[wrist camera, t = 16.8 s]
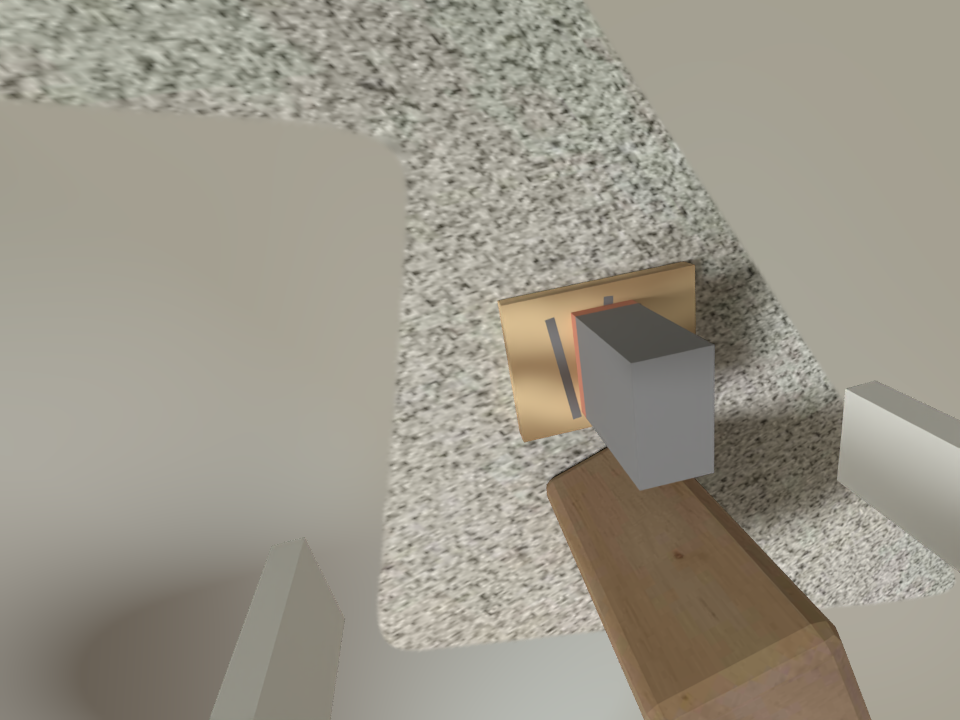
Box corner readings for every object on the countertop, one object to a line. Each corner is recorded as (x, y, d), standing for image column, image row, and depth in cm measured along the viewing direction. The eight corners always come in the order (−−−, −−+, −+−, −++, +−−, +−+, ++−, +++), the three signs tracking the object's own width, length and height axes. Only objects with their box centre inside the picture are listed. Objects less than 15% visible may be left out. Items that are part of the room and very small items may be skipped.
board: (497, 300, 34) (501, 305, 33) (683, 261, 35) (694, 264, 34) (519, 432, 39) (524, 442, 37) (686, 394, 39) (696, 402, 38)
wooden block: (644, 420, 40) (848, 632, 21) (684, 503, 43) (889, 744, 25) (538, 480, 40) (648, 736, 22) (587, 556, 44) (717, 830, 26)
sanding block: (570, 312, 34) (631, 363, 25) (631, 299, 34) (714, 345, 25) (581, 412, 37) (639, 490, 28) (638, 399, 37) (713, 472, 28)
